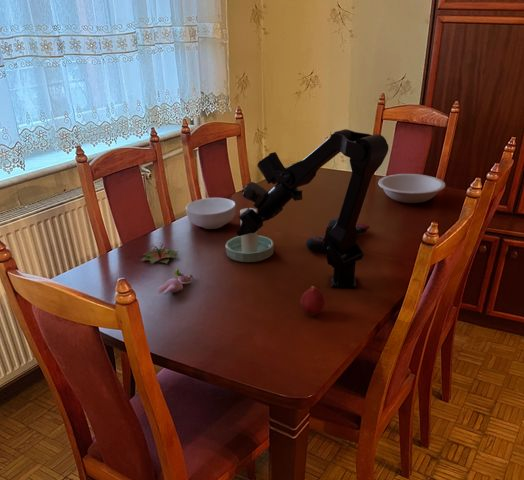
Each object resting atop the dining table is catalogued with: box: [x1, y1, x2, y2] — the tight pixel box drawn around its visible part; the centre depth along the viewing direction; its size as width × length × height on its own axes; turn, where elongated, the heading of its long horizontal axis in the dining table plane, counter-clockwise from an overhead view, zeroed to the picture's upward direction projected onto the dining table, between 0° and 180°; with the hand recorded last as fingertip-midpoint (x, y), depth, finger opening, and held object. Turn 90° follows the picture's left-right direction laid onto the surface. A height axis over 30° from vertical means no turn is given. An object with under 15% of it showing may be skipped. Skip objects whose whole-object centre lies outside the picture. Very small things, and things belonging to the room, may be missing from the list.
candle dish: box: [225, 234, 275, 263], centre depth 165 cm, size 14×14×3 cm
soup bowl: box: [377, 173, 446, 204], centre depth 201 cm, size 24×24×7 cm
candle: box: [239, 207, 259, 253], centre depth 162 cm, size 5×5×14 cm
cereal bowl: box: [185, 197, 237, 230], centre depth 185 cm, size 17×17×7 cm
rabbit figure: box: [157, 268, 194, 295], centre depth 145 cm, size 6×6×15 cm
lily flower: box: [141, 242, 179, 265], centre depth 164 cm, size 12×12×5 cm
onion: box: [300, 285, 326, 317], centre depth 132 cm, size 6×6×8 cm
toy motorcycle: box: [305, 217, 370, 253], centre depth 171 cm, size 25×5×16 cm
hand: (244, 229), depth 162 cm, fingers open, 9 cm apart
